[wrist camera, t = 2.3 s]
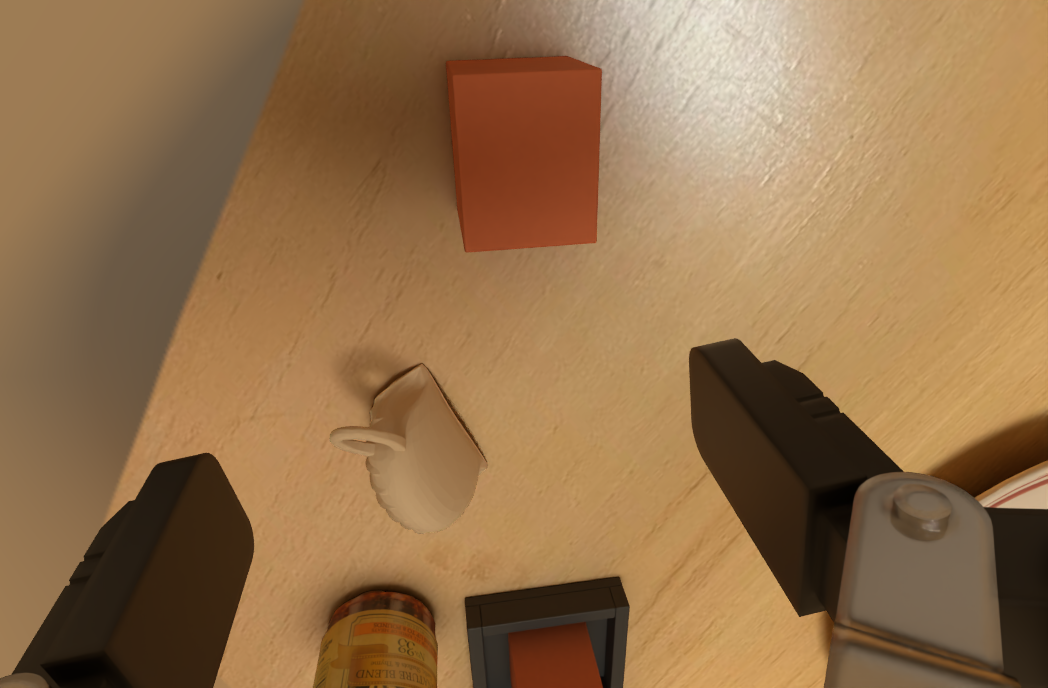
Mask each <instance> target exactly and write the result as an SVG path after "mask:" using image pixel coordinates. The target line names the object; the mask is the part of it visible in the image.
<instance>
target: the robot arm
mask: <svg viewBox="0 0 1048 688" xmlns="http://www.w3.org/2000/svg"><path fill="white" fill-rule="evenodd" d="M689 372H690V396H691V420H692V429H693V434H694V438H695V441H696V444H697V447H698V450H699V452H700V454H701V456H702V458H703V460H704V462H705V463H706V465H707V467H708V468H709V470H710V471H711V473H712V475H713V476H714V478H715V480H716V481H717V483H718V485H719V486H720V488H721V489H722V491H723V493H724V494H725V496H726V498H727V499H728V501H729V503H730V504H731V506H732V507H733V509H734V511H735V512H736V514H737V516H738V517H739V519H740V521H741V522H742V524H743V525H744V527H745V529H746V530H747V532H748V534H749V535H750V537H751V539H752V540H753V542H754V543H755V545H756V547H757V548H758V550H759V552H760V553H761V555H762V557H763V558H764V560H765V561H766V563H767V565H768V566H769V568H770V570H771V571H772V573H773V575H774V576H775V578H776V579H777V581H778V583H779V584H780V586H781V588H782V589H783V591H784V593H785V594H786V596H787V597H788V599H789V601H790V602H791V604H792V606H793V607H794V609H795V611H796V612H797V614H798V615H799V617H801V616H805V615H809V614H813V613H817V612H822V611H827V612H828V614H829V615H830V617H831V618H832V620H833V621H834V626H833V632H832V638H831V645H830V651H829V657H828V664H827V670H826V677H825V683H824V688H1048V509H1024V508H993V507H983V506H982V505H981V504H980V503H979V502H978V501H977V500H976V499H975V498H974V497H973V496H971V495H970V494H969V493H967V492H966V491H965V490H963V489H961V488H959V487H958V486H956V485H954V484H952V483H949V482H947V481H945V480H942V479H939V478H936V477H933V476H929V475H925V474H920V473H913V472H903V471H902V470H901V469H900V468H899V467H898V466H897V465H896V464H895V463H894V462H893V461H892V460H891V459H890V458H889V457H888V456H887V455H886V454H885V453H884V452H883V451H882V450H881V449H880V448H879V447H878V446H877V445H876V444H875V443H874V442H873V441H872V440H871V439H870V438H869V437H868V436H867V435H866V434H865V433H864V432H863V431H862V430H861V429H860V428H859V427H858V426H856V425H855V424H854V423H853V422H852V421H851V420H850V419H849V418H848V417H847V416H846V415H845V414H844V413H840V411H839V408H838V407H837V406H836V405H835V404H834V403H833V402H832V401H831V400H830V399H829V398H828V397H824V396H823V392H822V391H821V390H820V389H819V388H818V387H817V386H816V385H815V384H814V383H813V382H812V381H811V380H809V379H808V378H807V377H806V376H805V375H804V374H803V373H801V372H799V371H797V370H795V369H793V368H790V367H788V366H786V365H784V364H782V363H780V362H778V361H776V360H773V361H769V362H764V363H761V362H760V361H759V360H758V359H757V358H756V357H755V356H754V355H753V354H752V353H751V351H750V350H749V349H748V348H747V347H746V346H745V345H744V344H743V343H742V342H741V341H740V340H739V339H736V338H734V339H730V340H725V341H721V342H716V343H712V344H707V345H702V346H698V347H694V348H692V349H691V351H690V354H689ZM253 553H254V538H253V531H252V527H251V524H250V521H249V519H248V517H247V515H246V513H245V511H244V509H243V507H242V505H241V504H240V502H239V500H238V498H237V496H236V494H235V492H234V490H233V488H232V486H231V485H230V483H229V481H228V479H227V477H226V475H225V473H224V471H223V469H222V467H221V466H220V464H219V462H218V460H217V459H216V458H215V457H214V456H213V455H211V454H210V453H203V454H198V455H194V456H189V457H185V458H180V459H176V460H171V461H166V462H162V463H159V464H157V465H156V466H155V467H154V468H153V470H152V471H151V473H150V475H149V476H148V478H147V480H146V482H145V483H144V485H143V487H142V488H141V490H140V492H139V494H138V495H137V497H136V499H135V500H133V501H129V502H128V503H127V504H126V505H124V506H123V507H122V508H121V509H120V510H119V511H118V512H117V513H116V514H115V515H114V516H113V517H112V518H111V519H110V520H109V521H108V522H107V523H106V524H105V525H104V526H103V527H102V528H101V529H100V530H99V532H98V534H97V535H96V537H95V539H94V540H93V542H92V544H91V545H90V547H89V549H88V550H87V552H86V553H85V555H84V561H83V562H80V563H79V565H78V566H77V568H76V570H75V571H74V573H73V575H72V576H71V578H70V580H69V581H70V585H69V586H65V588H64V590H63V591H62V593H61V594H60V596H59V598H58V599H57V601H56V602H55V604H54V606H53V607H52V609H51V611H50V612H49V614H48V616H47V617H46V619H45V620H44V622H43V624H42V625H41V627H40V629H39V630H38V632H37V634H36V635H35V637H34V638H33V640H32V642H31V643H30V645H29V647H28V648H27V650H26V652H25V653H24V655H23V657H22V658H21V660H20V661H19V663H18V665H17V666H16V668H15V670H14V671H13V673H12V675H9V676H5V677H3V678H0V688H213V686H214V683H215V680H216V676H217V673H218V670H219V667H220V663H221V660H222V657H223V653H224V650H225V647H226V644H227V640H228V637H229V634H230V631H231V627H232V624H233V621H234V617H235V614H236V611H237V608H238V604H239V601H240V598H241V595H242V591H243V588H244V585H245V581H246V578H247V575H248V572H249V568H250V565H251V562H252V558H253Z"/></svg>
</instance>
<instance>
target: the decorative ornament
mask: <svg viewBox="0 0 1048 688" xmlns="http://www.w3.org/2000/svg"><path fill="white" fill-rule="evenodd" d="M370 416H371V419H372V421H371V423H370V428H369V427H358V426H349V427H341V428H337V429H335V430H333V431H332V432H331V434H330V442H331V444H333V445H334V446H335V447H337V448H339V449H341V450H343V451H347V452H350V453H354V454H357V455H363V456H368V457H367V459H366V468H367V470H368V471H369V472H370V482H371V486H372V489H373V490H374V491H375V492H376V497H377V501H378V503H379V505H380V506H381V507H382V508H384V509H386V511H387V513H388V515H389V517H390V518H391V519H392V520H394V521H396V522H400V524H401V526H403V527H404V528H405V529H409V530H413V531H414V532H415V533H417V534H424V533H433V532H439V531H442V530H444V529H447V528H448V527H450V526H451V525H452V524H454V523H455V522H456V521H457V520H458V519H459V517H460V516H461V515H462V514H463V513H464V511H465V510H466V508H467V507H468V505H469V503H470V502H471V500H472V498H473V495H474V492H475V489H476V485H477V480H478V476H479V475H480V474H481V473H482V472H484V470H485V469H486V468H487V466H488V464H487V462H486V461H485V459H484V457H483V456H482V454H481V453H480V451H479V450H478V448H477V447H476V445H475V444H474V442H473V441H472V439H471V438H470V436H469V435H468V434H467V432H466V431H465V429H464V428H463V426H462V425H461V423H460V422H459V421H458V419H457V417H456V416H455V414H454V413H453V411H452V410H451V408H450V406H449V405H448V403H447V401H446V400H445V398H444V396H443V395H442V393H441V391H440V389H439V388H438V386H437V384H436V382H435V381H434V379H433V377H432V376H431V374H430V372H429V371H428V369H427V368H426V367H425V366H424V365H423V364H420V365H419V366H417V367H415V368H414V369H412V370H411V371H409V372H408V373H406V374H405V375H403V376H402V377H400V378H399V379H397V380H396V381H394V382H393V383H392V384H390V386H389V387H388V388H386V389H385V390H384V391H383V392H381V393H380V394H379V395H378V396H377V397H376V398H375V400H374V405H373V407H372V409H371V411H370ZM353 439H357V440H367V442H361V441H357V440H353Z"/></svg>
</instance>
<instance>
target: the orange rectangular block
mask: <svg viewBox="0 0 1048 688" xmlns="http://www.w3.org/2000/svg"><path fill="white" fill-rule="evenodd" d="M508 642H509V660H510V677H511V687H512V688H603V686H602V682H601V678H600V675H599V671H598V667H597V663H596V659H595V656H594V652H593V648H592V644H591V641H590V637H589V633H588V629H587V626H586V622H580V623H573V624H566V625H559V626H553V627H546V628H539V629H532V630H525V631H518V632H511V633H508Z"/></svg>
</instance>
